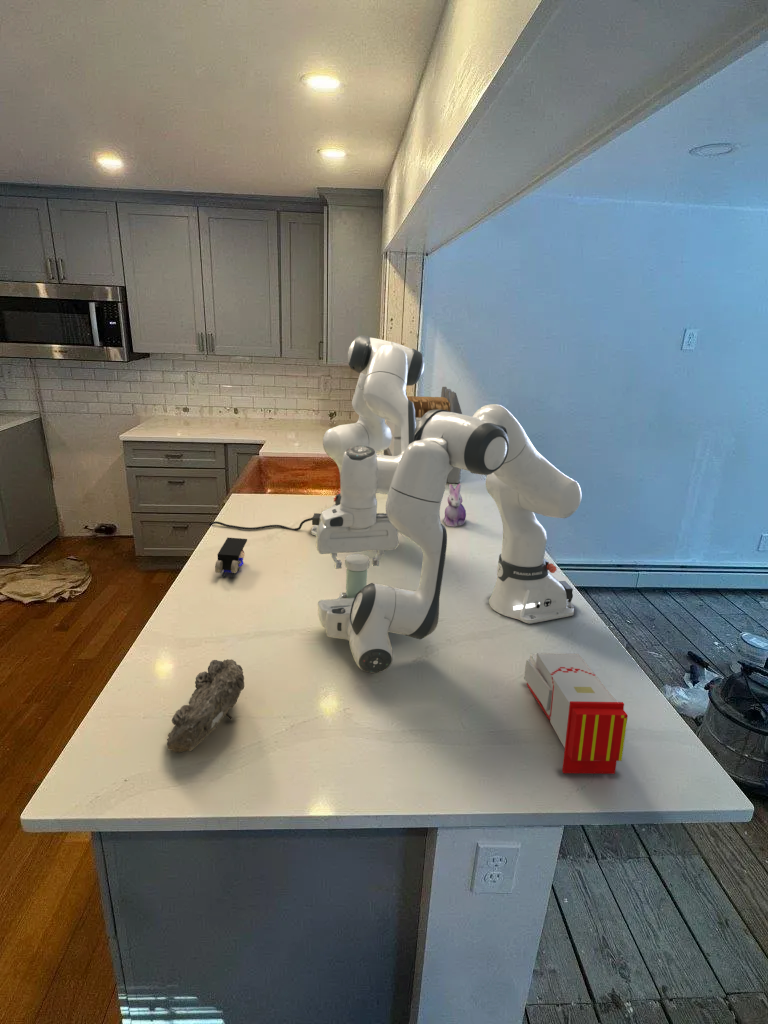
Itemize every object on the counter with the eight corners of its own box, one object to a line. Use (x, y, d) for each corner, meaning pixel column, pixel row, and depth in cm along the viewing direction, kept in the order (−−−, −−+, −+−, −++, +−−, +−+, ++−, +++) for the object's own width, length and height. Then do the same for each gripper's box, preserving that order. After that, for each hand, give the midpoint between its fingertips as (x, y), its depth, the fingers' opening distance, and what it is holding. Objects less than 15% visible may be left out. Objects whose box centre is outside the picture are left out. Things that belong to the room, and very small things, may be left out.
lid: (353, 573, 137) (353, 566, 136) (340, 564, 142) (340, 556, 141) (374, 568, 141) (374, 560, 140) (360, 559, 145) (360, 551, 144)
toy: (573, 635, 123) (638, 710, 94) (567, 691, 126) (628, 782, 97) (518, 633, 123) (565, 709, 93) (513, 690, 125) (557, 781, 96)
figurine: (451, 529, 206) (455, 489, 201) (436, 519, 214) (439, 481, 209) (472, 525, 210) (476, 487, 205) (457, 516, 219) (460, 479, 214)
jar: (354, 608, 149) (356, 555, 144) (369, 615, 146) (371, 561, 141) (341, 615, 146) (342, 561, 140) (355, 623, 142) (357, 567, 137)
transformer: (382, 463, 289) (386, 382, 275) (445, 464, 293) (451, 384, 279) (390, 482, 257) (394, 392, 243) (460, 483, 261) (468, 394, 247)
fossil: (192, 660, 117) (244, 628, 112) (224, 691, 120) (276, 661, 115) (142, 746, 98) (202, 712, 93) (182, 779, 101) (242, 748, 96)
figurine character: (238, 584, 162) (249, 557, 175) (236, 562, 158) (247, 536, 172) (215, 584, 161) (227, 556, 175) (212, 561, 158) (225, 535, 171)
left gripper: (396, 508, 142) (393, 558, 147) (314, 511, 137) (314, 564, 141) (403, 516, 136) (400, 569, 141) (318, 521, 131) (318, 575, 136)
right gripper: (407, 608, 133) (395, 581, 146) (320, 613, 129) (315, 585, 142) (406, 631, 135) (394, 603, 148) (320, 637, 131) (315, 607, 144)
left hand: (356, 566), depth 141 cm, fingers open, 8 cm apart
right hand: (355, 594), depth 145 cm, fingers closed on jar, 5 cm apart
